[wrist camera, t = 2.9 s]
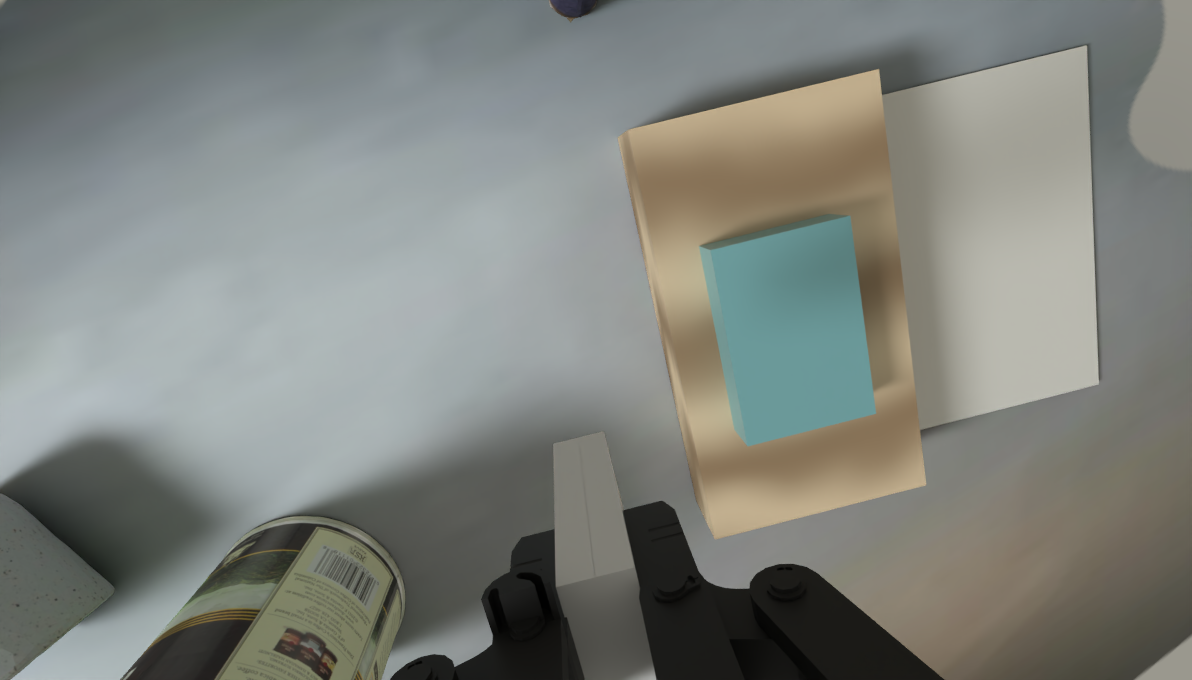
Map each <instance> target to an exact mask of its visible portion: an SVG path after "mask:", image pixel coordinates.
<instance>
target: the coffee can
mask: <svg viewBox="0 0 1192 680" xmlns="http://www.w3.org/2000/svg"><path fill="white" fill-rule="evenodd" d="M405 600H406V599H405V589H404V584H403V580H402V577H401V574H400V571H399V569H398V567H397V565H396V564H395V562H394V560H393V559H392V557H391V556H390V554H389V553H388V552H387V551H386V550H385V549H384V548H383V547H382V546H381V545H380V544H379V543H378V542H377V541H375V540H374V539H373V538H372V537H370V536H369V535H368V534H366V533H365V532H363V531H361V530H360V529H358V528H356V527H354V526H351V525H349V524H346V523H344V522H341V521H337V520H333V519H330V518H326V517H313V516H296V517H287V518H282V519H278V520H275V521H271V522H268V523H266V524H264V525H262V526H259V527H257V528H255V529H253V530H252V531H250V532H249V533H247V534H245V535H244V536H243V537H242V538H241V539H240V540H238V541H237V542H236V543H235V544H234V546H233V547H232V548H231V549H230V550H229V551H228V553H227V554H226V556H225V557H224V559H223V560H222V562H221V563H220V564H219V565H218V566H217V567H216V569H215V570H214V571H213V572H212V573H211V574H210V575H209V577H208V578H207V579H206V581H205V582H204V583H203V584H202V586H201V587H200V588H199V589H198V590H197V591H196V593H195V594H194V595H193V596H192V597H191V599H190V600H189V601H188V602H187V603H186V604H185V606H184V607H183V608H182V609H181V610H180V611H179V612H178V614H177V615H176V616H175V617H174V618H173V619H172V621H171V622H170V623H169V624H168V625H167V626H166V628H165V629H164V630H163V631H162V632H161V633H160V635H159V636H158V637H157V638H156V639H155V640H154V642H153V643H152V644H151V645H150V646H149V647H148V649H147V650H146V651H145V652H144V653H143V654H142V656H141V657H140V658H139V659H138V660H137V661H136V662H135V663H134V664H133V666H132V667H131V668H130V669H129V670H128V672H127V673H126V674H125V675H124V676H123V677H122V678H121V679H120V680H381V678H382V676H383V673H384V670H385V667H386V663H387V660H388V657H389V654H390V651H391V648H392V645H393V642H394V639H395V636H396V634H397V632H398V630H399V628H400V625H401V622H402V619H403V616H404V613H405Z"/></svg>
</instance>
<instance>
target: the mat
mask: <svg viewBox="0 0 1192 680" xmlns="http://www.w3.org/2000/svg"><path fill="white" fill-rule="evenodd" d="M882 101H883V109H884V118H885V127H886V136H887V145H888V153H889V162H890V171H891V180H892V189H893V198H894V206H895V215H896V224H897V233H898V242H899V250H900V259H901V268H902V277H903V286H904V295H905V303H906V312H907V321H908V330H909V339H910V348H911V356H912V365H913V374H914V383H915V392H916V400H917V409H918V418H919V427H920V430H922V429H926V428H930V427H934V426H937V425H941V424H945V423H949V422H953V421H957V420H961V419H965V418H969V417H973V416H977V415H981V414H984V413H988V412H992V411H996V410H1000V409H1004V408H1008V407H1012V406H1016V405H1020V404H1024V403H1028V402H1031V401H1035V400H1039V399H1043V398H1047V397H1051V396H1055V395H1059V394H1063V393H1067V392H1071V391H1074V390H1078V389H1082V388H1086V387H1090V386H1094V385H1098V384H1099V375H1098V347H1097V319H1096V290H1095V262H1094V234H1093V206H1092V177H1091V149H1090V121H1089V92H1088V64H1087V45H1086V46H1082V47H1078V48H1073V49H1069V50H1065V51H1061V52H1057V53H1053V54H1049V55H1045V56H1041V57H1036V58H1032V59H1028V60H1024V61H1020V62H1016V63H1012V64H1008V65H1004V66H999V67H995V68H991V69H987V70H983V71H979V72H975V73H971V74H967V75H962V76H958V77H954V78H950V79H946V80H942V81H938V82H934V83H930V84H925V85H921V86H917V87H913V88H909V89H905V90H901V91H897V92H893V93H889V94H884V95H882Z"/></svg>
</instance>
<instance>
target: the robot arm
mask: <svg viewBox="0 0 1192 680" xmlns="http://www.w3.org/2000/svg"><path fill="white" fill-rule="evenodd" d="M553 464H554V520H555V529H554V530H550V531H546V532H542V533H538V534H534V535H530V536H526V537H522V538H521V539H520V541H519V542H518V544H517V545H516V547H515V548H514V550H513V551H512V556H511V569H510V572H509V573H507V574H504V575H503V576H501V577H500V578H498V579H496V580H495V581H493V582H492V583H491V585H490V586H489V587H488V588H487V589H486V590H485V592H484V594H483V596H482V599H481V600H482V603H483V606H484V609H485V612H486V615H487V619H488V622H489V625H490V628H491V631H492V634H493V642H492V645H491V646H490V647H488V648H487V649H486V650H485V651H484V652H482V653H480V654H479V655H477V656H475V657H474V658H472V659H470V660H468V661H466V662H464V663H462V664H460V665H458V666H456V667H454V664H453V661H452V660H451V659H449V658H448V657H446V656H445V655H435V654H433V655H428V656H424V657H420V658H418V659H416V660H414V661H412V662H410V663H408V664H406V665H405V666H404V667H402V668H401V669H400V670H399V671H397V672H396V673H395V674H394V675H393V676H392V678H391V679H390V680H944V679H943V678H942V677H940V676H939V675H938V674H937V673H936V672H935V671H933V670H932V669H931V668H930V667H929V666H927V665H926V664H925V663H924V662H923V661H921V660H920V659H919V658H918V657H917V656H915V655H914V654H913V653H912V652H911V651H909V650H908V649H907V648H906V647H905V646H904V645H902V644H901V643H900V642H899V641H898V640H896V639H895V638H894V637H893V636H892V635H890V634H889V633H888V632H887V631H886V630H884V629H883V628H882V627H881V626H880V625H878V624H877V623H876V622H875V621H874V620H872V619H871V618H870V617H869V616H868V615H867V614H865V613H864V612H863V611H862V610H861V609H859V608H858V607H857V606H856V605H855V604H853V603H852V602H851V601H850V600H849V599H847V598H846V597H845V596H844V595H843V594H841V593H840V592H839V591H838V590H837V589H835V588H834V587H833V586H832V585H831V584H830V583H828V582H827V581H826V580H825V579H824V578H822V577H821V576H820V575H819V574H818V573H816V572H814V571H813V570H811V569H809V568H807V567H804V566H800V565H795V564H778V565H775V566H771V567H768V568H765V569H764V570H762V571H760V572H759V573H757V574H756V575H755V576H754V578H753V579H752V581H751V582H750V589H730V588H723V587H719V586H715V585H713V584H711V583H709V582H707V581H706V580H705V579H704V578H703V576H702V575H701V574H700V573H699V571H698V569H697V566H696V564H695V561H694V558H693V556H692V553H691V551H690V548H689V546H688V543H687V540H686V538H685V535H684V533H683V530H682V527H681V525H680V523H679V520H678V517H677V515H676V512H675V509H673V508H672V507H670V506H669V505H668V504H666V503H665V502H663V501H659V502H655V503H651V504H647V505H643V506H639V507H635V508H631V509H627V510H624V509H623V505H622V501H621V497H620V493H619V489H618V485H617V481H616V477H615V473H614V469H613V465H612V461H611V457H610V453H609V449H608V445H607V441H606V437H605V433H604V431H602V432H598V433H594V434H590V435H586V436H582V437H578V438H574V439H570V440H566V441H562V442H558V443H554V444H553Z"/></svg>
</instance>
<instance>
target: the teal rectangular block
mask: <svg viewBox="0 0 1192 680" xmlns="http://www.w3.org/2000/svg"><path fill="white" fill-rule="evenodd" d="M699 249H700V254H701V260H702V265H703V270H704V275H705V280H706V285H707V291H708V296H709V301H710V306H711V311H712V316H713V322H714V327H715V332H716V337H717V342H718V347H719V353H720V358H721V363H722V368H723V373H724V378H725V384H726V389H727V394H728V399H729V404H730V409H731V415H732V420H733V425H734V430H735V431H736V433H737V434H738V435H739V436H740V438H741V439H742V440H743V441H744V443H745V444H746V445H747V446H752V445H756V444H759V443H763V442H767V441H771V440H775V439H779V438H783V437H787V436H791V435H795V434H799V433H803V432H807V431H811V430H815V429H818V428H822V427H826V426H830V425H834V424H838V423H842V422H846V421H850V420H854V419H858V418H862V417H866V416H870V415H873V414H876V408H875V401H874V393H873V386H872V378H871V370H870V363H869V355H868V347H867V340H866V332H865V325H864V317H863V309H862V302H861V294H860V287H859V279H858V271H857V264H856V256H855V248H854V241H853V233H852V226H851V218H850V216H848V215H836V214H827V215H823V216H819V217H814V218H810V219H806V220H802V221H798V222H794V223H790V224H786V225H782V226H778V227H774V228H770V229H766V230H762V231H758V232H754V233H750V234H746V235H742V236H738V237H734V238H729V239H725V240H721V241H717V242H713V243H709V244H705V245H701V246H699Z"/></svg>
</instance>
